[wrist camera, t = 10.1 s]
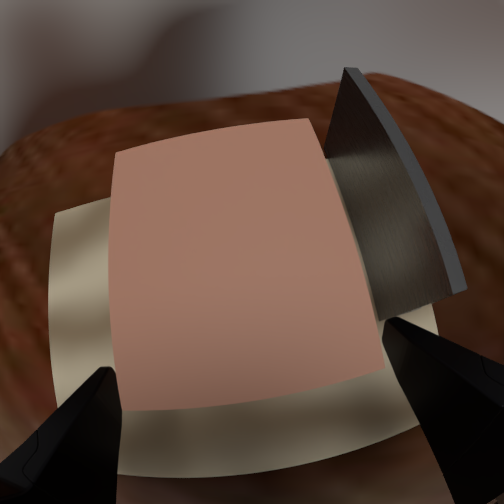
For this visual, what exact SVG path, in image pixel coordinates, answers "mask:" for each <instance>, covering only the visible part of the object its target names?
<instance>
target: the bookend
mask: <svg viewBox="0 0 504 504" xmlns="http://www.w3.org/2000/svg"><path fill="white" fill-rule="evenodd" d="M324 150H325V153H326V155H327V158H328V160H329V163H330V165H331V168H332V170H333V173H334V175H335V178H336V181H337V183H338V186H339V189H340V191H341V194H342V197H343V200H344V203H345V205H346V208H347V211H348V214H349V217H350V220H351V223H352V226H353V229H354V232H355V235H356V239H357V242H358V245H359V248H360V252H361V255H362V258H363V262H364V265H365V269H366V272H367V276H368V280H369V283H370V287H371V291H372V295H373V299H374V303H375V307H376V311H377V315H378V319H379V321H383V320H386V319H388V318H391V317H395V316H399V315H402V314H405V313H408V312H412V311H415V310H418V309H420V308H421V307H424V306H426V305H429V304H432V303H434V302H437V301H439V300H442V299H444V298H447V297H449V296H452V295H454V294H457V293H459V292H461V291H464V290H466V289H467V285H466V282H465V278H464V275H463V271H462V268H461V265H460V262H459V259H458V256H457V253H456V250H455V247H454V244H453V241H452V238H451V236H450V233H449V230H448V228H447V225H446V223H445V220H444V218H443V215H442V213H441V210H440V208H439V206H438V203H437V201H436V199H435V196H434V194H433V192H432V190H431V188H430V186H429V183H428V181H427V179H426V177H425V175H424V173H423V171H422V169H421V167H420V165H419V163H418V161H417V160H416V158H415V156H414V154H413V152H412V150H411V148H410V147H409V145H408V143H407V141H406V140H405V138H404V136H403V134H402V133H401V131H400V129H399V128H398V126H397V124H396V123H395V121H394V120H393V118H392V116H391V115H390V113H389V112H388V110H387V109H386V107H385V106H384V104H383V103H382V101H381V100H380V98H379V97H378V95H377V94H376V92H375V91H374V90H373V88H372V87H371V85H370V84H369V83H368V81H367V80H366V79H365V77H364V76H363V75H362V73H361V72H360V71H359V69H358V68H348V67H344V70H343V75H342V79H341V83H340V87H339V91H338V95H337V99H336V103H335V107H334V110H333V114H332V118H331V122H330V126H329V129H328V133H327V137H326V141H325V144H324Z"/></svg>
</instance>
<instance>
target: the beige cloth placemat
mask: <svg viewBox="0 0 504 504" xmlns="http://www.w3.org/2000/svg"><path fill="white" fill-rule="evenodd" d="M326 162H327V164H328V167H329V169H330V172H331V175H332V177H333V180H334V183H335V185H336V188H337V191H338V194H339V196H340V199H341V202H342V205H343V208H344V211H345V214H346V217H347V220H348V223H349V226H350V229H351V232H352V235H353V238H354V242H355V245H356V248H357V252H358V255H359V258H360V262H361V265H362V269H363V273H364V276H365V280H366V284H367V287H368V291H369V295H370V299H371V303H372V307H373V311H374V316H375V320H376V324H377V329H378V334H379V338H380V343H381V348H382V353H383V358H384V364H385V368H384V369H381V370H378V371H375V372H372V373H369V374H366V375H363V376H359V377H356V378H353V379H349V380H346V381H342V382H339V383H335V384H331V385H327V386H323V387H320V388H315V389H311V390H307V391H303V392H298V393H293V394H289V395H284V396H279V397H273V398H268V399H262V400H256V401H250V402H243V403H236V404H229V405H220V406H211V407H201V408H189V409H174V410H145V411H123V410H122V430H121V439H120V449H119V460H118V473H117V474H122V475H132V476H144V477H163V478H200V477H219V476H232V475H242V474H250V473H258V472H265V471H271V470H277V469H282V468H288V467H293V466H297V465H302V464H306V463H311V462H315V461H319V460H323V459H326V458H330V457H334V456H337V455H341V454H344V453H347V452H350V451H354V450H357V449H360V448H363V447H365V446H368V445H371V444H374V443H376V442H379V441H382V440H384V439H387V438H389V437H392V436H394V435H397V434H399V433H401V432H404V431H406V430H408V429H410V428H413V427H415V426H417V425H419V422H418V420H417V418H416V416H415V414H414V412H413V410H412V408H411V406H410V404H409V402H408V400H407V398H406V396H405V394H404V392H403V390H402V388H401V387H400V385H399V383H398V381H397V378H396V376H395V374H394V371H393V368H392V366H391V363H390V361H389V358H388V356H387V354H386V351H385V349H384V346H383V344H382V334H383V328H384V322H385V320H383V321H379V319H378V315H377V311H376V307H375V303H374V299H373V295H372V291H371V287H370V283H369V280H368V276H367V272H366V269H365V265H364V262H363V258H362V255H361V252H360V248H359V245H358V242H357V239H356V235H355V232H354V229H353V226H352V223H351V220H350V217H349V214H348V211H347V208H346V205H345V203H344V200H343V197H342V194H341V191H340V189H339V186H338V183H337V181H336V178H335V175H334V173H333V170H332V168H331V165H330V163H329V160H328V159H326ZM110 202H111V197H110V198H106V199H102V200H99V201H95V202H92V203H88V204H85V205H81V206H78V207H75V208H71V209H68V210H65V211H61V212H58V213H55V219H54V226H53V234H52V244H51V254H50V268H49V294H48V314H49V340H50V353H51V364H52V373H53V381H54V388H55V394H56V400H57V406H58V408H59V407H60V406H61V405H62V404H63V403H64V402H65V401H66V400H67V399H68V398H69V397H70V396H71V395H72V394H73V393H74V392H75V391H76V390H77V389H78V388H79V387H80V386H81V385H82V384H83V383H84V382H85V381H86V380H87V379H88V378H89V377H90V376H91V375H92V374H93V373H94V372H95V371H96V370H97V369H98V368H99V367H102V366H110V367H112V368H113V369H114V371H115V363H114V355H113V346H112V336H111V324H110V309H109V285H108V241H109V217H110ZM397 317H400V318H402V319H404V320H406V321H408V322H411V323H413V324H415V325H417V326H419V327H421V328H424V329H426V330H428V331H430V332H432V333H434V334H436V335H438V330H437V326H436V321H435V317H434V313H433V308H432V304H429V305H426V306H424V307H421V308H420V309H418V310H415V311H412V312H408V313H405V314H402V315H399V316H397ZM115 373H116V371H115Z"/></svg>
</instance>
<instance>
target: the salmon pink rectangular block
mask: <svg viewBox="0 0 504 504" xmlns="http://www.w3.org/2000/svg"><path fill="white" fill-rule="evenodd" d="M108 285H109V309H110V324H111V336H112V346H113V355H114V363H115V371H116V378H117V384H118V390H119V396H120V402H121V407H122V410H123V411H145V410H174V409H189V408H201V407H211V406H220V405H229V404H236V403H243V402H250V401H256V400H262V399H268V398H273V397H279V396H284V395H289V394H293V393H298V392H303V391H307V390H311V389H315V388H320V387H323V386H327V385H331V384H335V383H339V382H342V381H346V380H349V379H353V378H356V377H359V376H363V375H366V374H369V373H372V372H375V371H378V370H381V369H384V368H385V364H384V358H383V353H382V348H381V343H380V338H379V334H378V329H377V324H376V320H375V316H374V311H373V307H372V303H371V299H370V295H369V291H368V287H367V284H366V280H365V276H364V273H363V269H362V265H361V262H360V258H359V255H358V252H357V248H356V245H355V242H354V238H353V235H352V232H351V229H350V226H349V223H348V220H347V217H346V214H345V211H344V208H343V205H342V202H341V199H340V196H339V194H338V191H337V188H336V185H335V183H334V180H333V177H332V175H331V172H330V169H329V167H328V164H327V162H326V159H325V156H324V154H323V151H322V149H321V147H320V144H319V142H318V139H317V137H316V135H315V132H314V130H313V128H312V125H311V123H310V121H309V118H306V119H293V120H282V121H273V122H264V123H256V124H248V125H241V126H234V127H228V128H222V129H216V130H210V131H204V132H199V133H194V134H189V135H184V136H179V137H175V138H170V139H166V140H162V141H158V142H153V143H149V144H146V145H142V146H138V147H134V148H130V149H127V150H123V151H120V152H116V155H115V163H114V171H113V180H112V190H111V202H110V217H109V241H108Z"/></svg>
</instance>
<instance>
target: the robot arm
mask: <svg viewBox="0 0 504 504" xmlns="http://www.w3.org/2000/svg"><path fill="white" fill-rule="evenodd" d="M382 344H383V346H384V349H385V351H386V354H387V356H388V358H389V361H390V363H391V366H392V368H393V371H394V374H395V376H396V378H397V381H398V383H399V385H400V387H401V388H402V390H403V392H404V394H405V396H406V398H407V400H408V402H409V404H410V406H411V408H412V410H413V412H414V414H415V416H416V418H417V420H418V422H419V424H420V426H421V428H422V430H423V432H424V434H425V436H426V438H427V440H428V442H429V445H430V447H431V449H432V451H433V453H434V455H435V458H436V460H437V462H438V464H439V466H440V469H441V471H442V473H443V476H444V478H445V481H446V483H447V485H448V488H449V490H450V493H451V495H452V498H453V500H454V503H455V504H487V503H488V502H490V501H492V500H493V499H495V498H496V500H497V502H496V503H494V504H504V365H502V364H499V363H497V362H495V361H493V360H490V359H488V358H486V357H484V356H482V355H481V356H480V355H479V354H477V353H475V352H473V351H471V350H469V349H467V348H464V347H462V346H460V345H458V344H456V343H454V342H451V341H449V340H447V339H445V338H443V337H441V336H439V335H436V334H434V333H432V332H430V331H428V330H426V329H424V328H421V327H419V326H417V325H415V324H413V323H411V322H408V321H406V320H404V319H402V318H400V317H397V316H395V317H391V318H388V319H386V320H385V322H384V328H383V334H382ZM121 430H122V407H121V402H120V396H119V390H118V384H117V378H116V373H115V371H114V369H113V368H112V367H110V366H102V367H99V368H98V369H97V370H96V371H95V372H94V373H93V374H92V375H91V376H90V377H89V378H88V379H87V380H86V381H85V382H84V383H83V384H82V385H81V386H80V387H79V388H78V389H77V390H76V391H75V392H74V393H73V394H72V395H71V396H70V397H69V398H68V399H67V400H66V401H65V402H64V403H63V404H62V405H61V406H60V407H59V408H58V409H57V410H56V411H55V412H54V413H53V414H52V415H51V416H50V417H49V418H48V419H47V420H46V421H45V422H44V423H43V424H42V425H41V426H40V427H39V428H38V430H36V431H35V432H34V433H33V434H32V435H31V436H30V437H29V438H28V439H27V440H26V441H25V442H24V443H23V444H22V445H21V446H19V447H18V448H17V449H16V450H15V451H14V452H13V453H11V454H10V455H9V456H8V457H7V458H6V459H4V460H3V461H2V462H1V463H0V504H116V490H117V473H118V460H119V449H120V439H121Z"/></svg>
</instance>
